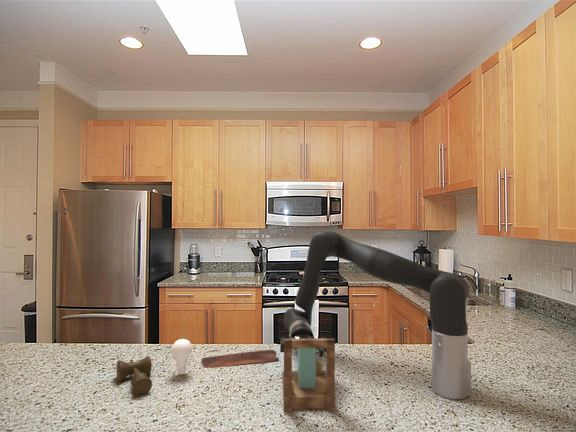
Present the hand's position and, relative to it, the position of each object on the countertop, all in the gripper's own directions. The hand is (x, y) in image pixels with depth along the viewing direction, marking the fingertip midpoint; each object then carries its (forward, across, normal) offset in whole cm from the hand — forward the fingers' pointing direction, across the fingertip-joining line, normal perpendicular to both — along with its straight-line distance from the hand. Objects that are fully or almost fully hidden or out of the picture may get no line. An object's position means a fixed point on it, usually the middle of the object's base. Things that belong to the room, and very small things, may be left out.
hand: (306, 354), depth 95 cm
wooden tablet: (-24, -21, +12) cm, 34 cm away
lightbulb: (-13, -38, +11) cm, 42 cm away
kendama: (-9, -50, +12) cm, 52 cm away
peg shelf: (0, 0, +11) cm, 11 cm away
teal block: (0, 0, +8) cm, 8 cm away
